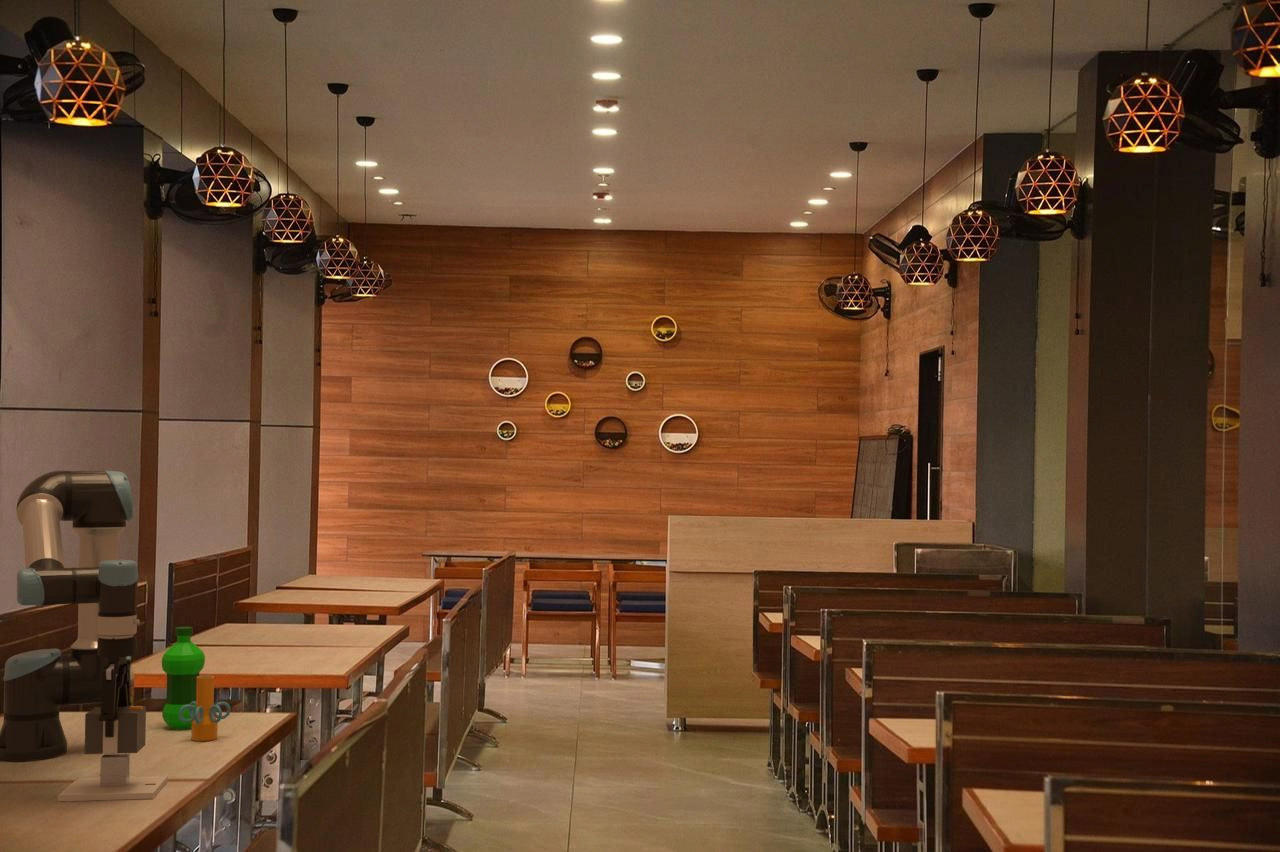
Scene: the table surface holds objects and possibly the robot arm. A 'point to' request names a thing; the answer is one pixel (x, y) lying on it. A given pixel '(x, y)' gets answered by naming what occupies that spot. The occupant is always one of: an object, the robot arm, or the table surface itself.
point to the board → (113, 792)
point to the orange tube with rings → (204, 711)
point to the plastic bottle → (181, 677)
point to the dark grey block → (128, 730)
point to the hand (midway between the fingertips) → (115, 748)
